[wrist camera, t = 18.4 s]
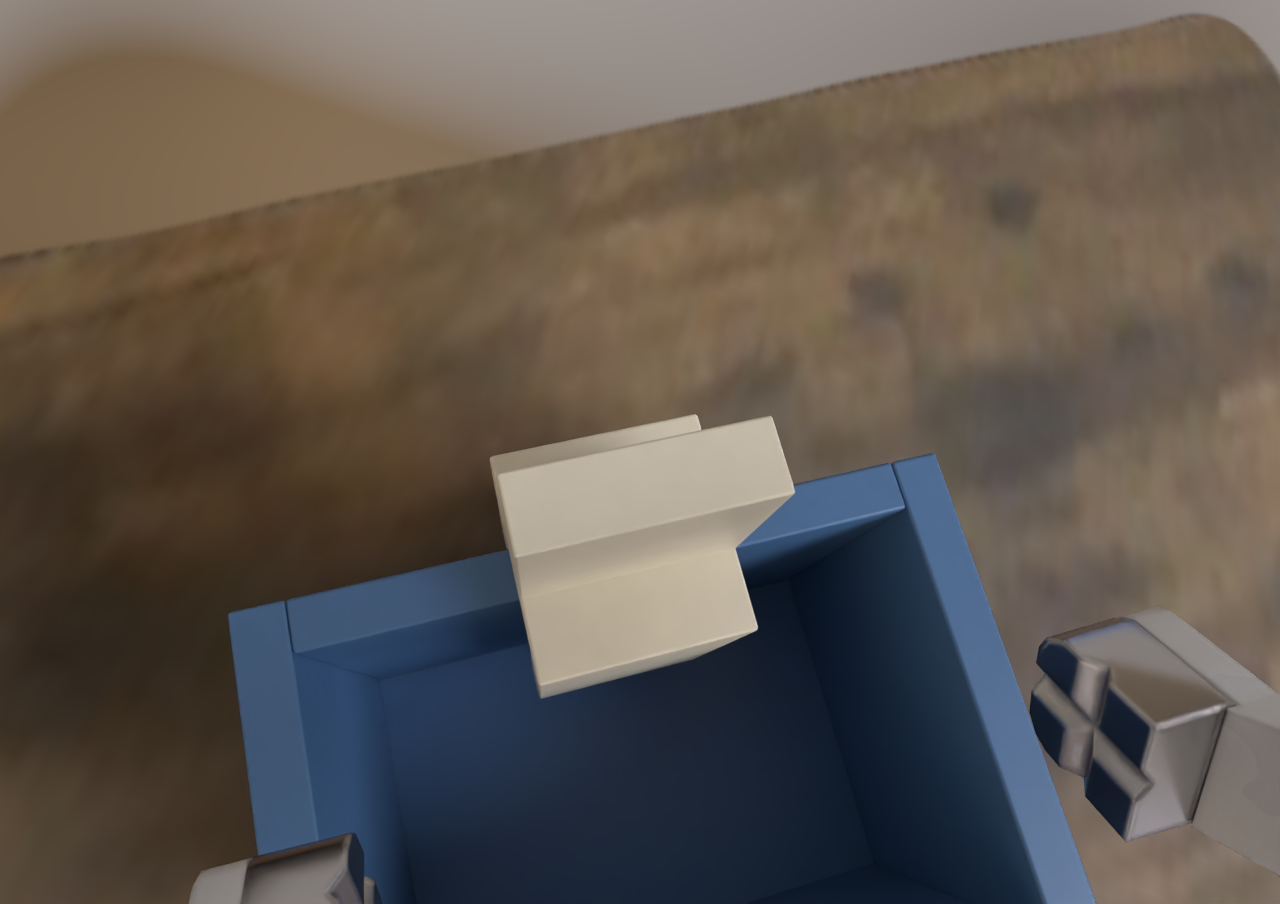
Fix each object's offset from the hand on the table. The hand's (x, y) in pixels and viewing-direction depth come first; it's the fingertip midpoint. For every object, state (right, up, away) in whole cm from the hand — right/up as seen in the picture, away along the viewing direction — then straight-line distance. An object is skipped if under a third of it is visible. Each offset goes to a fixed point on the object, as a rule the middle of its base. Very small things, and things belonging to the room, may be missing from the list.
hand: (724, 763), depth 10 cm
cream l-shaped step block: (-2, 0, +12) cm, 13 cm away
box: (-1, -5, +15) cm, 16 cm away
